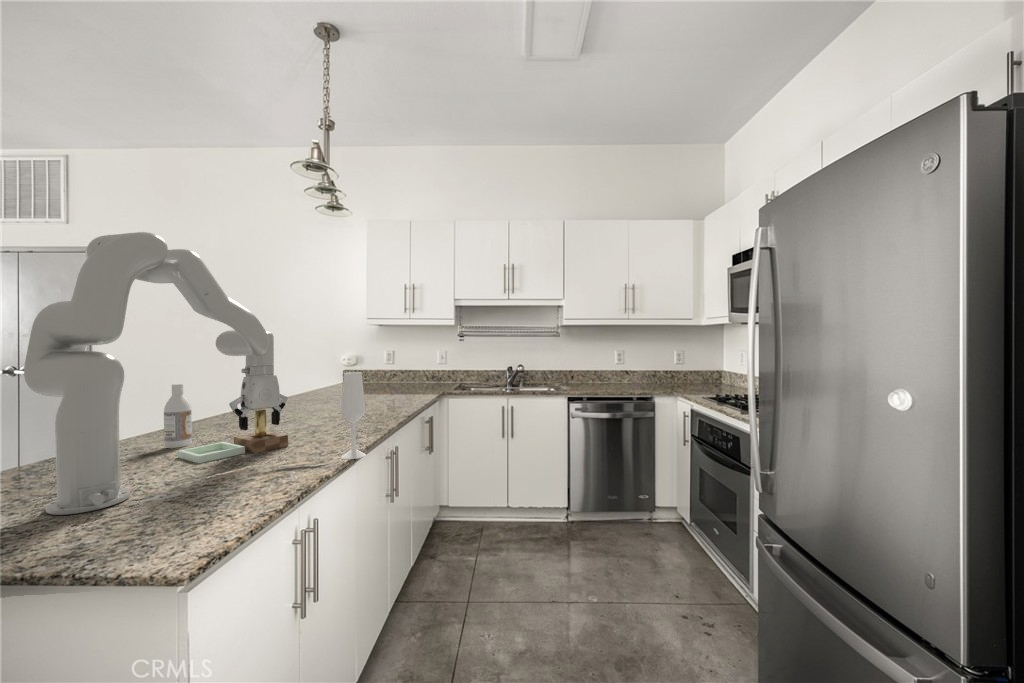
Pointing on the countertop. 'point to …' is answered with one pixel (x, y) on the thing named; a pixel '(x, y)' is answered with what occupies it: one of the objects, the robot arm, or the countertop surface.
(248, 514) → the countertop surface
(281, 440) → the bore block
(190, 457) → the tray
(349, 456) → the champagne flute
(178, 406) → the bath foam
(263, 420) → the gold cylinder
